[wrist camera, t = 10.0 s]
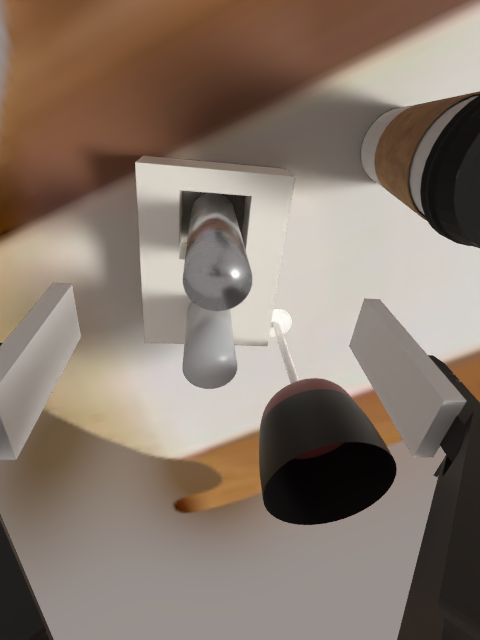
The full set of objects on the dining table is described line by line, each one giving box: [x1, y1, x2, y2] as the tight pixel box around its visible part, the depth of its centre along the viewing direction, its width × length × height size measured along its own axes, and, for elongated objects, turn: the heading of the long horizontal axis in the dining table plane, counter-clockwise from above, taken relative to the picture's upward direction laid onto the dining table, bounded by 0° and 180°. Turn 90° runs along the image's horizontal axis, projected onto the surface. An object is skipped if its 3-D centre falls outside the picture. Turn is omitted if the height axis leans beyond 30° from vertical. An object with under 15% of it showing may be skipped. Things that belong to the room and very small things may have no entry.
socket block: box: [135, 156, 295, 389], centre depth 29 cm, size 16×12×12 cm
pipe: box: [183, 193, 252, 311], centre depth 26 cm, size 4×4×14 cm
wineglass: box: [259, 309, 396, 525], centre depth 31 cm, size 8×9×20 cm
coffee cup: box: [361, 92, 480, 248], centre depth 24 cm, size 8×8×15 cm
